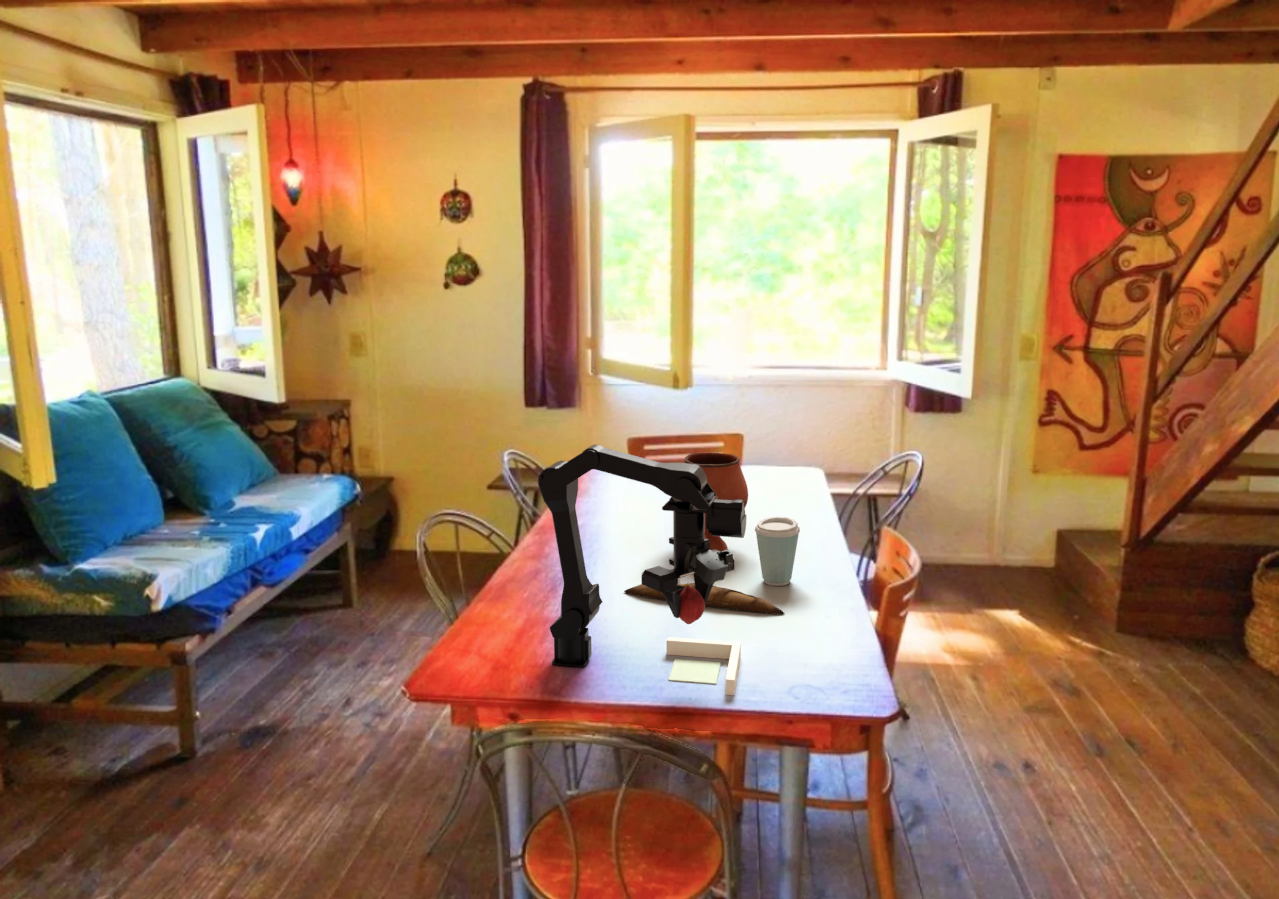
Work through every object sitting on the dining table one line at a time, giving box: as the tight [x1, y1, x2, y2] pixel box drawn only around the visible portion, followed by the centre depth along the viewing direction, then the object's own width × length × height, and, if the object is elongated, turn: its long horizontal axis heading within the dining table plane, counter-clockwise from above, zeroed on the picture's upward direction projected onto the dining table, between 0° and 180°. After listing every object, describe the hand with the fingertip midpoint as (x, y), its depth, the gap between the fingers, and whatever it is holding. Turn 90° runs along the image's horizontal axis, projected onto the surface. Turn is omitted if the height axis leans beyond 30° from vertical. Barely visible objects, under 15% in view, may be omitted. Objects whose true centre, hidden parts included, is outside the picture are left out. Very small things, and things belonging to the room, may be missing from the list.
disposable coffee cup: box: [754, 516, 801, 587], centre depth 228 cm, size 11×11×15 cm
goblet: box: [683, 452, 749, 551], centre depth 251 cm, size 19×19×25 cm
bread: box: [624, 582, 785, 615], centre depth 215 cm, size 38×5×5 cm, turn 70°
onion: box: [678, 582, 706, 625], centre depth 178 cm, size 6×6×8 cm
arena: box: [665, 636, 742, 696], centre depth 181 cm, size 15×17×3 cm
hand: (689, 613), depth 178 cm, fingers closed on onion, 6 cm apart
